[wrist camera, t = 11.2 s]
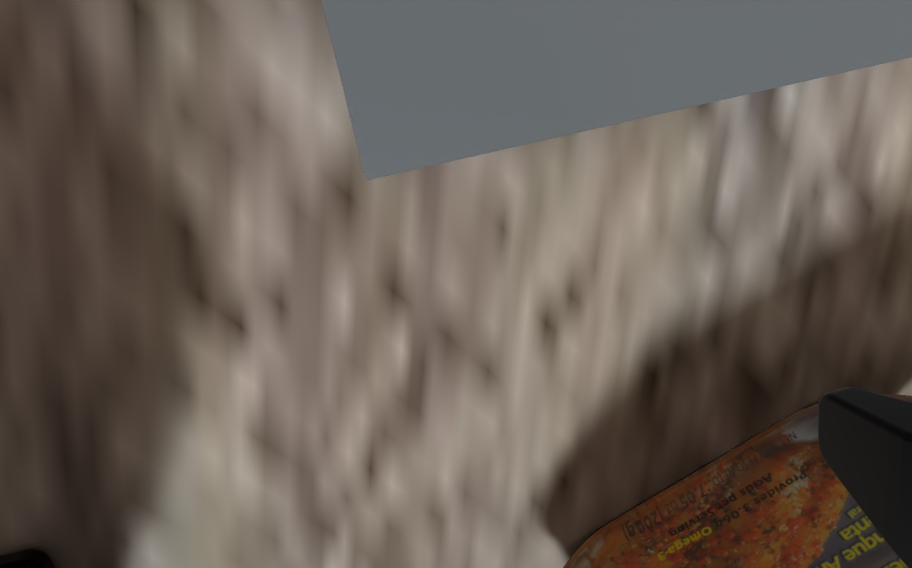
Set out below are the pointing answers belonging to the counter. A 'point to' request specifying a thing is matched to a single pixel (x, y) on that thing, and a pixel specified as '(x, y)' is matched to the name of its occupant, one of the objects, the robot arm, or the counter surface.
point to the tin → (748, 513)
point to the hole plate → (577, 64)
